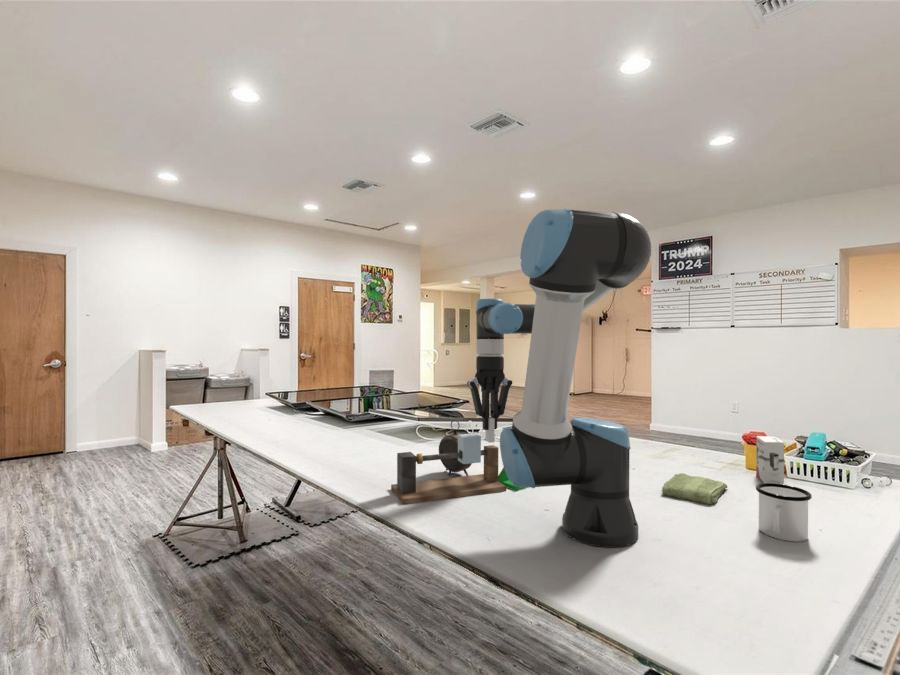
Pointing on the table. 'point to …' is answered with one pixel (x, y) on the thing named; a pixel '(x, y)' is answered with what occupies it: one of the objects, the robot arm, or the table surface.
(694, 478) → the washcloth
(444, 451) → the alarm clock
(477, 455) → the light blue block
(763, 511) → the mug
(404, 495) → the wooden slider rail stand
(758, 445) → the ink box
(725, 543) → the table surface
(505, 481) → the bracket
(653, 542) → the table surface
